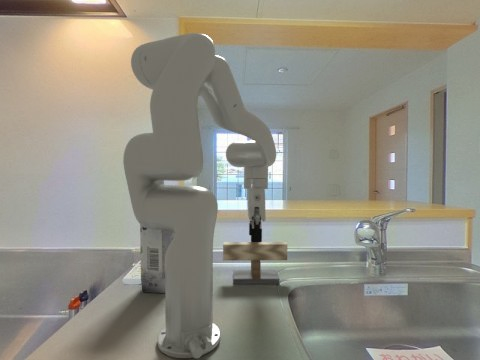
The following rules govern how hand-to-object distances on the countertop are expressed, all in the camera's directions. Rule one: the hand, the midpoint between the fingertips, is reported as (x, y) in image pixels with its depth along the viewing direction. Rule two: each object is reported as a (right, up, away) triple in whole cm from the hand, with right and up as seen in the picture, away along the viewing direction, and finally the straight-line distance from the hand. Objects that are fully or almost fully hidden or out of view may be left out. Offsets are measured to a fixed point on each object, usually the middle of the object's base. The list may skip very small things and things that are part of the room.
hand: (255, 238), depth 93 cm
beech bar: (0, -7, +1) cm, 7 cm away
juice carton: (-28, -14, -5) cm, 32 cm away
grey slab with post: (0, -13, +1) cm, 13 cm away
